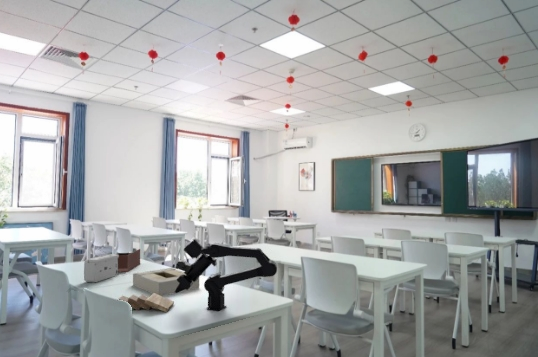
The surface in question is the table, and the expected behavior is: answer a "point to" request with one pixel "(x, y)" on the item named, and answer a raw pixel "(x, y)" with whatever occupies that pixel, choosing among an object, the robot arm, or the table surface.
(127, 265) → the desk organizer
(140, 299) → the domino
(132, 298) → the domino
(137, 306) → the domino
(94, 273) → the stereo radio cassette player
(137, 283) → the box
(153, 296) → the square wooden board
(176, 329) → the table surface
